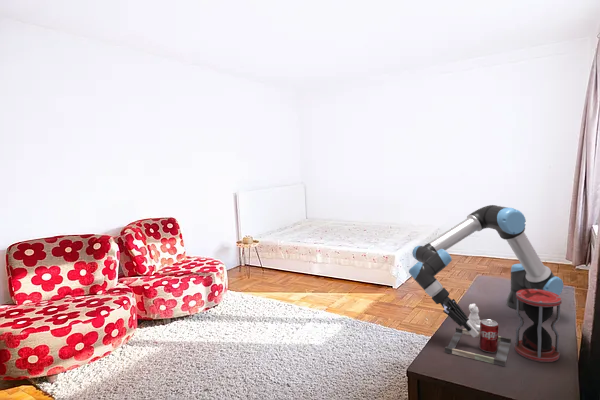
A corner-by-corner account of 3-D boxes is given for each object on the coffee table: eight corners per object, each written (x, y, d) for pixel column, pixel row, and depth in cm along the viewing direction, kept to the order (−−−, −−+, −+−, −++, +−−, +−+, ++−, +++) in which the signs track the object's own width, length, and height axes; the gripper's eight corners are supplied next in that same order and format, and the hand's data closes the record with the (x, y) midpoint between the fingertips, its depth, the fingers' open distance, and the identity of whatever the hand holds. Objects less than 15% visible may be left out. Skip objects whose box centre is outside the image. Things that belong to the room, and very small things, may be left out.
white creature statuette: (487, 333, 183) (487, 308, 182) (467, 331, 185) (467, 307, 184) (482, 324, 192) (482, 300, 191) (463, 323, 194) (464, 300, 193)
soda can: (500, 353, 165) (501, 326, 163) (482, 353, 165) (483, 326, 164) (493, 345, 172) (495, 319, 170) (476, 344, 173) (477, 318, 171)
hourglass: (555, 346, 168) (557, 290, 165) (563, 365, 154) (565, 304, 151) (513, 340, 175) (514, 286, 172) (516, 358, 160) (517, 300, 157)
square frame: (456, 331, 186) (456, 327, 186) (510, 342, 173) (511, 338, 173) (444, 352, 168) (444, 347, 168) (504, 366, 155) (504, 361, 155)
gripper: (435, 292, 185) (472, 333, 177) (427, 301, 174) (466, 346, 167) (446, 283, 181) (485, 325, 174) (439, 292, 170) (480, 337, 163)
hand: (476, 335), depth 170 cm, fingers closed
